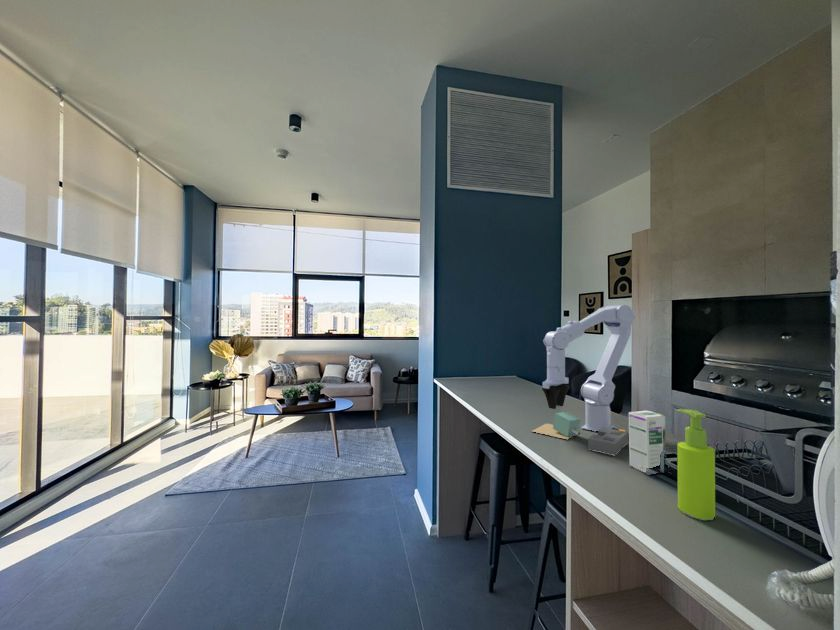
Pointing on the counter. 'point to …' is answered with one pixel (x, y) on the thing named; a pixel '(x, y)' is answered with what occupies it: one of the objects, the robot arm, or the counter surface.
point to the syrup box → (646, 439)
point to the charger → (567, 424)
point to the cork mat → (549, 431)
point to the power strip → (608, 440)
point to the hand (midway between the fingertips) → (556, 407)
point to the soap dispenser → (696, 470)
